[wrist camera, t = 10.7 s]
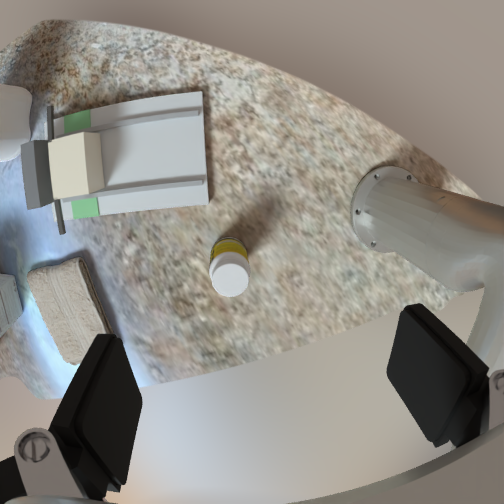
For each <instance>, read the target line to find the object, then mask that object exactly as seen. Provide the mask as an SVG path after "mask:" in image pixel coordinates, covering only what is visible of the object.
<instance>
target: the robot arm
mask: <svg viewBox="0 0 504 504" xmlns="http://www.w3.org/2000/svg"><path fill="white" fill-rule="evenodd" d="M374 175H375V178H374ZM356 210H357V212H356ZM350 214H351V222H352V226H353V229H354V231H355V233H356V235H357V237H358V238H359V239H360V241H361V242H362V243H363V244H365V245H366V246H367V247H369V248H370V249H372V250H374V251H377V252H382V253H390V252H396V253H397V254H399V255H400V256H402V257H403V258H405V259H406V260H407V261H409V262H410V263H412V264H413V265H415V266H416V267H418V268H419V269H420V270H422V271H423V272H425V273H426V274H427V275H429V276H430V277H432V278H433V279H435V280H436V281H437V282H439V283H440V284H442V285H443V286H445V287H446V288H448V289H450V290H453V291H457V292H469V291H474V290H478V289H481V288H483V287H485V288H484V294H483V298H482V301H481V304H480V308H479V313H478V315H477V318H476V321H475V323H474V326H473V329H472V331H471V334H470V336H469V339H468V341H467V343H466V344H465V343H464V342H463V341H462V340H461V339H460V338H459V337H457V336H456V335H455V334H454V333H453V332H452V331H451V330H450V329H449V328H448V327H447V326H446V325H445V324H444V323H442V322H441V321H440V320H439V319H438V318H437V317H436V316H435V315H434V314H433V313H431V312H430V311H429V310H428V309H427V308H426V307H425V306H424V305H422V304H421V303H418V304H413V305H408V306H406V307H405V308H404V310H403V311H401V313H400V316H399V321H398V326H397V330H396V335H395V339H394V343H393V347H392V351H391V355H390V359H389V362H388V366H387V376H388V379H389V380H390V382H391V383H392V385H393V386H394V388H395V389H396V391H397V393H398V394H399V396H400V397H401V399H402V400H403V401H404V403H405V405H406V406H407V408H408V410H409V411H410V413H411V414H412V416H413V418H414V419H415V420H416V422H417V424H418V425H419V427H420V429H421V430H422V432H423V434H424V435H425V437H426V438H427V440H428V441H430V442H433V444H434V446H435V447H439V446H441V445H443V444H445V443H447V442H448V441H449V440H450V441H451V442H452V447H451V451H450V452H448V453H446V454H444V455H442V456H440V457H438V458H436V459H434V460H432V461H430V462H427V463H425V464H423V465H421V466H418V467H416V468H414V469H411V470H408V471H406V472H403V473H401V474H398V475H396V476H393V477H390V478H387V479H384V480H382V481H378V482H375V483H372V484H369V485H366V486H363V487H359V488H356V489H353V490H349V491H345V492H341V493H337V494H333V495H329V496H325V497H320V498H316V499H311V500H305V501H300V502H294V503H288V504H504V207H503V206H500V205H496V204H493V203H489V202H485V201H482V200H478V199H475V198H472V197H468V196H465V195H461V194H458V193H454V192H451V191H447V190H444V189H440V188H436V187H433V186H429V185H425V184H421V183H419V182H418V180H417V179H416V178H415V177H414V176H413V174H411V173H410V172H409V171H407V170H405V169H403V168H400V167H396V166H383V167H379V168H377V169H375V170H373V171H371V172H370V173H368V174H367V175H366V176H365V177H364V178H363V179H362V180H361V182H360V183H359V185H358V186H357V188H356V190H355V192H354V195H353V198H352V202H351V212H350ZM141 409H142V396H141V393H140V391H139V388H138V385H137V383H136V380H135V377H134V375H133V372H132V369H131V366H130V363H129V360H128V358H127V355H126V352H125V349H124V345H123V342H122V340H121V339H120V338H117V337H116V335H115V334H97V335H96V337H95V338H94V340H93V342H92V344H91V346H90V347H89V349H88V351H87V353H86V355H85V356H84V358H83V360H82V362H81V364H80V366H79V368H78V369H77V371H76V373H75V375H74V377H73V379H72V381H71V383H70V385H69V387H68V389H67V391H66V393H65V395H64V397H63V399H62V401H61V403H60V405H59V407H58V409H57V412H56V414H55V416H54V418H53V420H52V422H51V425H50V427H49V429H48V430H46V429H43V428H32V429H28V430H26V431H25V432H23V433H22V434H21V435H20V436H19V437H18V438H17V440H16V442H15V445H14V456H12V457H9V458H7V459H5V460H3V461H1V462H0V504H116V503H109V502H107V500H106V499H105V496H106V492H107V491H113V492H120V489H121V485H125V483H126V481H127V475H128V470H129V465H130V460H131V455H132V450H133V445H134V440H135V435H136V431H137V426H138V422H139V418H140V413H141Z"/></svg>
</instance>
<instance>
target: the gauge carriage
mask: <svg viewBox="0 0 504 504" xmlns="http://www.w3.org/2000/svg"><path fill="white" fill-rule="evenodd" d="M47 131H48V150H49V163H50V173H51V182H52V190H53V198H54V204H55V211H56V217H57V223H58V228H59V233H60V235H61V234H65V233H66V231H65V225H64V220H63V214H62V207H61V201H60V199H62V198H67V197H73V196H79V195H85V194H90V193H93V192H95V191H98V190H100V189H103V188H105V185H104V175H103V165H102V153H101V138H100V133H90V132H81V133H77V134H73V135H69V136H65V137H61V138H57V139H54V106H48V107H47Z"/></svg>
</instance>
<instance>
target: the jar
mask: <svg viewBox="0 0 504 504" xmlns="http://www.w3.org/2000/svg"><path fill="white" fill-rule="evenodd" d="M31 105H32V95H31V93H30V92H29V91H28V90H27V89H25V88H23V87H19V86H11V85H5V84H0V162H4V161H9V160H12V159H14V158H16V157H17V156H18V155H20V154H21V144H24V143H27V142H29V141H30V139H31V131H30V125H29V115H30V108H31Z"/></svg>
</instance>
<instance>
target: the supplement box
mask: <svg viewBox="0 0 504 504" xmlns="http://www.w3.org/2000/svg"><path fill="white" fill-rule="evenodd" d="M22 314H23V310H22V306H21V302H20V298H19V294H18V289H17V285H16V280H15V276H14V275H7V274H0V338H1V337H2V335H3V334H4V333H5V332H6V331H7V330H8V329H9V328H10V327H11V325H12V324H13V323H14V322H15V321H16V320H17V319H18V318H19V317H20V316H21V315H22Z"/></svg>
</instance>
